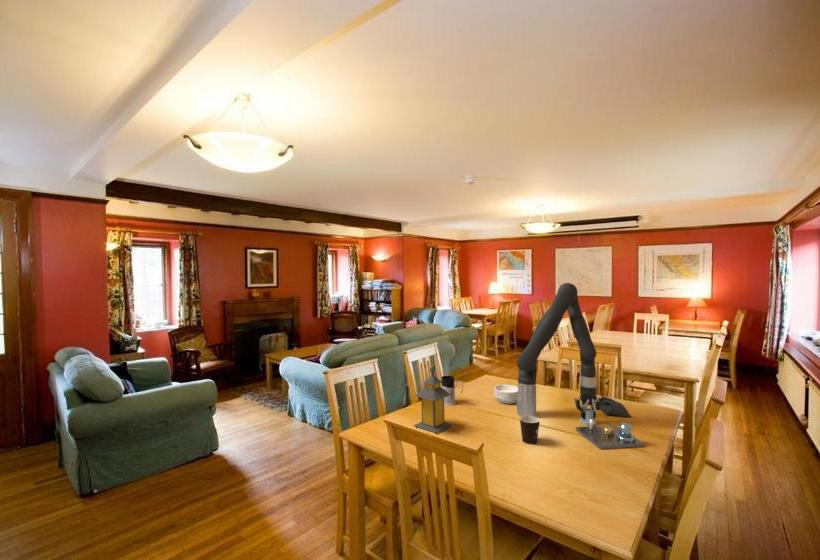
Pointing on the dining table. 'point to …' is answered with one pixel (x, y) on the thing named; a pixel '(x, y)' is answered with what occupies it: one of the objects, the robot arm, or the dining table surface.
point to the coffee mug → (529, 429)
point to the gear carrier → (610, 436)
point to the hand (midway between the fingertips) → (588, 418)
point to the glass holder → (449, 389)
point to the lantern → (433, 405)
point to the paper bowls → (506, 393)
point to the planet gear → (588, 417)
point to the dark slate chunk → (613, 407)
